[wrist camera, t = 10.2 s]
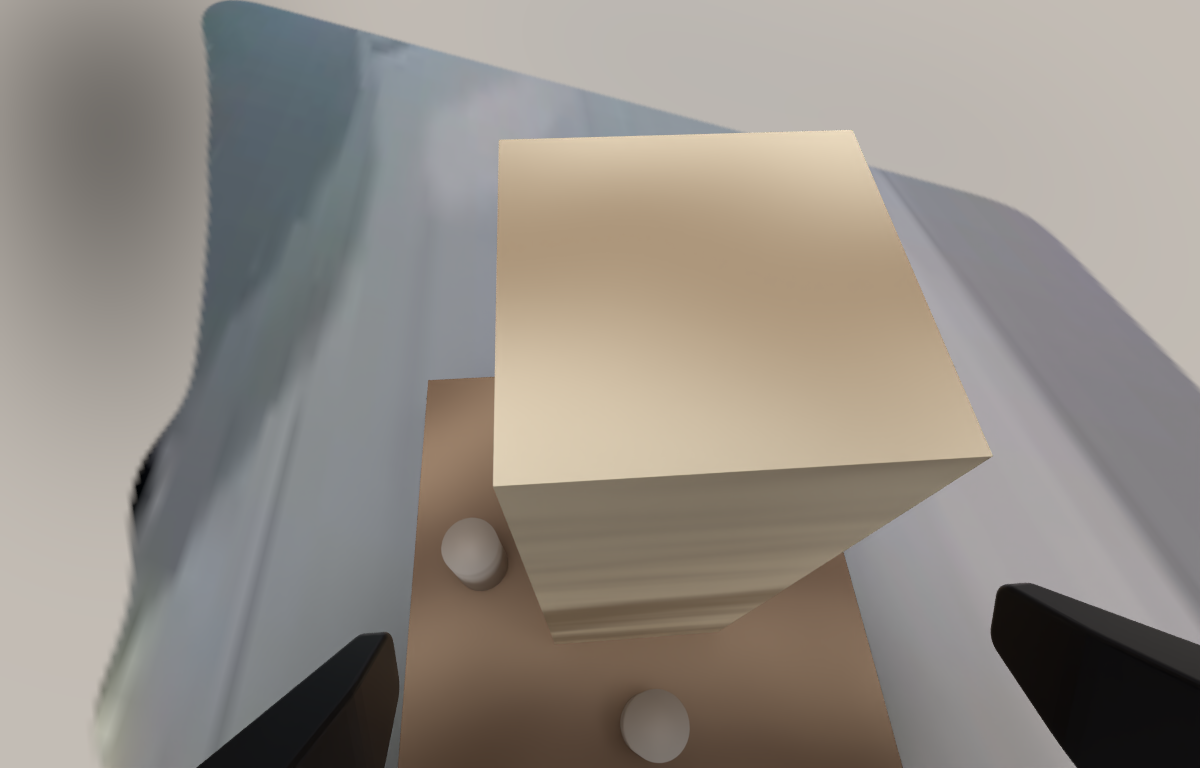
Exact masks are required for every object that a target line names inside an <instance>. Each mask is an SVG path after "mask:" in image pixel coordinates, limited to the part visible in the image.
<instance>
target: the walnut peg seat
mask: <svg viewBox="0 0 1200 768" xmlns="http://www.w3.org/2000/svg"><path fill="white" fill-rule="evenodd" d="M494 398H495V377H483V378H464V379H445V380H428V391H427V404H426V417H425V429H424V442H423V455H422V468H421V480H420V493H419V506H418V518H417V531H416V544H415V557H414V569H413V582H412V595H411V607H410V620H409V633H408V646H407V658H406V671H405V684H404V697H403V709H402V722H401V735H400V747H399V760H398V768H903V767H902V763H901V760H900V756H899V752H898V749H897V745H896V741H895V738H894V734H893V731H892V727H891V723H890V720H889V716H888V712H887V709H886V705H885V701H884V698H883V694H882V691H881V687H880V683H879V680H878V676H877V672H876V669H875V665H874V661H873V658H872V654H871V651H870V647H869V643H868V640H867V636H866V632H865V629H864V625H863V622H862V618H861V614H860V611H859V607H858V603H857V600H856V596H855V592H854V589H853V585H852V582H851V578H850V574H849V571H848V567H847V563H846V560H845V556H844V553H843V552H842V553H840V554H839V555H837V556H836V557H834V558H833V559H831V560H830V561H828V562H826V563H825V564H823V565H822V566H820V567H819V568H817V569H815V570H814V571H812V572H811V573H809V574H808V575H806V576H804V577H803V578H801V579H800V580H798V581H797V582H795V583H794V584H792V585H790V586H789V587H787V588H786V589H784V590H783V591H781V592H779V593H778V594H776V595H775V596H773V597H772V598H770V599H768V600H767V601H765V602H764V603H762V604H761V605H759V606H758V607H756V608H754V609H753V610H751V611H750V612H748V613H747V614H745V615H743V616H742V617H740V618H739V619H737V620H736V621H734V622H732V623H731V624H729V625H728V626H726V627H725V628H723V629H722V630H720V631H718V632H710V633H697V634H684V635H670V636H657V637H644V638H631V639H618V640H605V641H592V642H578V643H565V644H555V643H554V640H553V638H552V635H551V633H550V630H549V628H548V625H547V623H546V620H545V617H544V615H543V612H542V610H541V607H540V605H539V602H538V600H537V597H536V595H535V592H534V590H533V587H532V584H531V582H530V579H529V577H528V574H527V572H526V569H525V567H524V564H523V562H522V559H521V556H520V554H519V551H518V549H517V546H516V544H515V541H514V539H513V536H512V534H511V531H510V529H509V526H508V523H507V521H506V518H505V516H504V513H503V511H502V508H501V506H500V503H499V501H498V498H497V496H496V493H495V490H494V488H493V455H494Z"/></svg>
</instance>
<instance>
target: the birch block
mask: <svg viewBox="0 0 1200 768" xmlns="http://www.w3.org/2000/svg"><path fill="white" fill-rule="evenodd" d="M992 456H993V455H992V453H991V451H990V448H989V446H988V444H987V441H986V439H985V437H984V434H983V432H982V430H981V427H980V425H979V423H978V420H977V418H976V416H975V414H974V411H973V409H972V407H971V404H970V402H969V400H968V397H967V395H966V393H965V390H964V388H963V386H962V383H961V381H960V379H959V376H958V374H957V372H956V369H955V367H954V365H953V362H952V360H951V358H950V355H949V353H948V351H947V348H946V346H945V344H944V342H943V339H942V337H941V335H940V332H939V330H938V328H937V325H936V323H935V321H934V318H933V316H932V314H931V311H930V309H929V307H928V304H927V302H926V300H925V297H924V295H923V293H922V290H921V288H920V286H919V283H918V281H917V279H916V276H915V274H914V272H913V269H912V267H911V265H910V263H909V260H908V258H907V256H906V253H905V251H904V249H903V246H902V244H901V242H900V239H899V237H898V235H897V232H896V230H895V228H894V225H893V223H892V221H891V218H890V216H889V214H888V211H887V209H886V207H885V204H884V202H883V200H882V197H881V195H880V193H879V191H878V188H877V186H876V184H875V181H874V179H873V177H872V174H871V172H870V170H869V167H868V165H867V163H866V160H865V158H864V156H863V153H862V151H861V149H860V146H859V144H858V142H857V139H856V137H855V135H854V132H853V131H852V130H842V131H841V130H840V131H802V132H766V133H730V134H694V135H658V136H622V137H586V138H550V139H514V140H499V171H498V228H497V284H496V341H495V398H494V455H493V488H494V490H495V493H496V496H497V498H498V501H499V503H500V506H501V508H502V511H503V513H504V516H505V518H506V521H507V523H508V526H509V529H510V531H511V534H512V536H513V539H514V541H515V544H516V546H517V549H518V551H519V554H520V556H521V559H522V562H523V564H524V567H525V569H526V572H527V574H528V577H529V579H530V582H531V584H532V587H533V590H534V592H535V595H536V597H537V600H538V602H539V605H540V607H541V610H542V612H543V615H544V617H545V620H546V623H547V625H548V628H549V630H550V633H551V635H552V638H553V640H554V643H555V644H565V643H578V642H592V641H605V640H618V639H631V638H644V637H657V636H670V635H684V634H697V633H710V632H718V631H720V630H722V629H723V628H725V627H726V626H728V625H729V624H731V623H732V622H734V621H736V620H737V619H739V618H740V617H742V616H743V615H745V614H747V613H748V612H750V611H751V610H753V609H754V608H756V607H758V606H759V605H761V604H762V603H764V602H765V601H767V600H768V599H770V598H772V597H773V596H775V595H776V594H778V593H779V592H781V591H783V590H784V589H786V588H787V587H789V586H790V585H792V584H794V583H795V582H797V581H798V580H800V579H801V578H803V577H804V576H806V575H808V574H809V573H811V572H812V571H814V570H815V569H817V568H819V567H820V566H822V565H823V564H825V563H826V562H828V561H830V560H831V559H833V558H834V557H836V556H837V555H839V554H840V553H842V552H844V551H845V550H847V549H848V548H850V547H851V546H853V545H855V544H856V543H858V542H859V541H861V540H862V539H864V538H866V537H867V536H869V535H870V534H872V533H873V532H875V531H876V530H878V529H880V528H881V527H883V526H884V525H886V524H887V523H889V522H891V521H892V520H894V519H895V518H897V517H898V516H900V515H902V514H903V513H905V512H906V511H908V510H909V509H911V508H912V507H914V506H916V505H917V504H919V503H920V502H922V501H923V500H925V499H927V498H928V497H930V496H931V495H933V494H934V493H936V492H938V491H939V490H941V489H942V488H944V487H945V486H947V485H948V484H950V483H952V482H953V481H955V480H956V479H958V478H959V477H961V476H963V475H964V474H966V473H967V472H969V471H970V470H972V469H974V468H975V467H977V466H978V465H980V464H981V463H983V462H984V461H986V460H988V459H989V458H991V457H992Z"/></svg>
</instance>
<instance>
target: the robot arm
mask: <svg viewBox="0 0 1200 768" xmlns="http://www.w3.org/2000/svg"><path fill="white" fill-rule="evenodd" d="M991 638H992V642H993V645H994V647H995V649H996V651H997V652H998V654H999V655H1000V657H1001V658H1002V660H1003V661H1004V663H1005V664H1006V666H1007V667H1008V669H1009V670H1010V672H1011V673H1012V675H1013V676H1014V678H1015V679H1016V681H1017V682H1018V684H1019V685H1020V687H1021V688H1022V690H1023V691H1024V693H1025V694H1026V696H1027V697H1028V699H1029V700H1030V702H1031V703H1032V705H1033V706H1034V708H1035V709H1036V711H1037V712H1038V714H1039V715H1040V717H1041V718H1042V720H1043V721H1044V723H1045V724H1046V726H1047V727H1048V729H1049V730H1050V732H1051V733H1052V734H1053V736H1054V737H1055V739H1056V740H1057V742H1058V743H1059V744H1060V746H1061V747H1062V749H1063V750H1064V751H1065V753H1066V754H1067V755H1068V757H1069V758H1070V759H1071V761H1072V762H1073V763H1074V765H1075V766H1076V767H1077V768H1200V645H1198V644H1195V643H1193V642H1190V641H1187V640H1184V639H1182V638H1179V637H1176V636H1174V635H1171V634H1168V633H1165V632H1163V631H1160V630H1157V629H1155V628H1152V627H1149V626H1146V625H1144V624H1141V623H1138V622H1136V621H1133V620H1130V619H1127V618H1125V617H1122V616H1119V615H1116V614H1114V613H1111V612H1108V611H1106V610H1103V609H1100V608H1097V607H1095V606H1092V605H1089V604H1087V603H1084V602H1081V601H1078V600H1076V599H1073V598H1070V597H1068V596H1065V595H1062V594H1059V593H1057V592H1054V591H1051V590H1049V589H1046V588H1043V587H1040V586H1038V585H1035V584H1032V583H1017V584H1005V585H1003V586H1001V587H1000V588H999V589H998V591H997V594H996V599H995V606H994V612H993V618H992V624H991ZM398 697H399V676H398V670H397V663H396V657H395V650H394V643H393V639H392V637H391V635H390V634H389V633H387V632H379V633H366V634H361V635H359V636H357V637H356V638H355V639H353V640H352V641H351V642H350V643H349V644H347V645H346V646H345V647H344V648H342V649H341V650H340V651H339V652H337V653H336V654H335V655H334V656H333V657H331V658H330V659H329V660H328V661H326V662H325V663H324V664H323V665H322V666H320V667H319V668H318V669H317V670H315V671H314V672H313V673H312V674H311V675H309V676H308V677H307V678H306V679H304V680H303V681H302V682H301V683H300V684H298V685H297V686H296V687H295V688H293V689H292V690H291V691H290V692H288V693H287V694H286V695H285V696H284V697H282V698H281V699H280V700H279V701H277V702H276V703H275V704H274V705H273V706H271V707H270V708H269V709H268V710H266V711H265V712H264V713H263V714H262V715H260V716H259V717H258V718H257V719H255V720H254V721H253V722H252V723H251V724H249V725H248V726H247V727H246V728H244V729H243V730H242V731H241V732H240V733H238V734H237V735H236V736H235V737H233V738H232V739H231V740H230V741H228V742H227V743H226V744H225V745H224V746H222V747H221V748H220V749H219V750H217V751H216V752H215V753H214V754H213V755H211V756H210V757H209V758H208V759H206V760H205V761H204V762H203V763H202V764H200V765H199V766H198V767H197V768H384V767H385V762H386V757H387V752H388V747H389V742H390V737H391V732H392V727H393V722H394V717H395V712H396V707H397V702H398Z"/></svg>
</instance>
